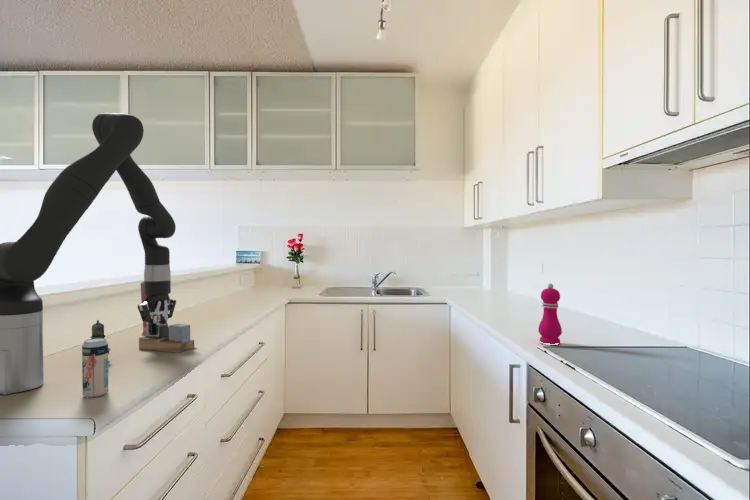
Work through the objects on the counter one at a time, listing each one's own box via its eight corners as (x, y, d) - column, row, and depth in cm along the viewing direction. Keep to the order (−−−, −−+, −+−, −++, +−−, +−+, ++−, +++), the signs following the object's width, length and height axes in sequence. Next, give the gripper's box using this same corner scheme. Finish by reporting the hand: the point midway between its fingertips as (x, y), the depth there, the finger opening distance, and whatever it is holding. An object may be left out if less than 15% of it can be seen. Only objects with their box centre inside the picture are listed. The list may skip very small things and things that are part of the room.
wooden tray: (177, 352, 134) (177, 341, 134) (138, 348, 139) (138, 337, 138) (194, 347, 140) (194, 336, 140) (156, 343, 145) (156, 333, 145)
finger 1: (160, 341, 138) (160, 325, 138) (146, 339, 140) (146, 324, 140) (169, 338, 141) (168, 323, 141) (155, 337, 143) (155, 322, 143)
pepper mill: (533, 342, 150) (534, 282, 149) (551, 340, 152) (552, 282, 151) (548, 347, 143) (548, 284, 142) (566, 345, 145) (567, 284, 145)
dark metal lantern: (98, 367, 118) (98, 322, 118) (80, 365, 120) (79, 321, 119) (115, 361, 124) (115, 318, 124) (97, 360, 125) (97, 317, 125)
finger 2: (182, 343, 135) (182, 326, 135) (167, 341, 137) (167, 325, 137) (190, 340, 139) (190, 324, 139) (176, 339, 140) (175, 323, 140)
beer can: (80, 394, 97) (79, 340, 97) (105, 389, 100) (104, 336, 100) (85, 400, 94) (84, 343, 93) (111, 395, 97) (110, 340, 97)
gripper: (149, 281, 132) (149, 339, 133) (183, 277, 146) (183, 330, 146) (129, 280, 135) (129, 337, 135) (165, 277, 148) (165, 328, 148)
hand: (157, 333), depth 141 cm, fingers closed on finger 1, 3 cm apart
